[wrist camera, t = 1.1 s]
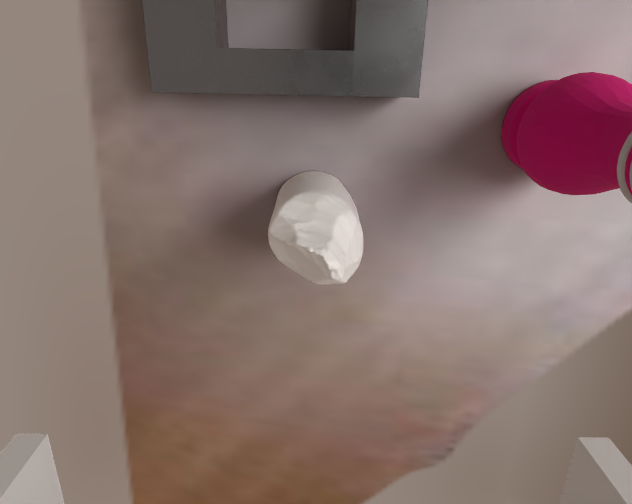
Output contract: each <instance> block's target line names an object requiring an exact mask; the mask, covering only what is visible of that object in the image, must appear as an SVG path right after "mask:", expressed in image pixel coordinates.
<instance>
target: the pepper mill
mask: <svg viewBox="0 0 632 504" xmlns="http://www.w3.org/2000/svg"><path fill="white" fill-rule="evenodd" d="M502 142H503V147H504V150H505V152H506V154H507V155H508V157H509V158H510V160H511V161H512V162H513V163H514V164H516V165H517V166H519V167H520V168H522V169H524V171H525V172H526V174H527V175H528V176H529V177H530V178H531V179H532V180H533V181H534V182H536V183H537V184H539V185H540V186H542V187H544V188H546V189H548V190H552V191H555V192H559V193H562V194H568V195H588V194H597V193H602V192H605V191H609V190H613V189H618V188H620V189H621V191H622V193H623V195H624V196H625V197H626V198H627V200H628V201H630V202H631V203H632V84H630V83H628V82H627V81H625V80H624V79H621V78H618V77H616V76H613V75H607V74H601V73H595V72H588V73H578V74H574V75H570V76H567V77H564V78H562V79H560V80H549V81H544V82H541V83H538V84H535V85H533V86H531V87H530V88H528V89H527V90H525V91H524V92H523V93H521V94H520V95H519V96H518V97H517V98H516V99H515V101H514V102H513V103H512V105H511V106H510V108H509V109H508V111H507V113H506V116H505V118H504V121H503V126H502Z"/></svg>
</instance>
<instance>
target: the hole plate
mask: <svg viewBox="0 0 632 504" xmlns="http://www.w3.org/2000/svg"><path fill="white" fill-rule="evenodd" d="M142 5H143V14H144V24H145V33H146V42H147V52H148V61H149V71H150V80H151V89H152V92H165V93H215V94H265V95H315V96H365V97H414V98H419V88H420V78H421V67H422V57H423V47H424V36H425V26H426V16H427V5H428V0H352V1H351V25H350V49H349V51H337V50H290V49H243V48H228V35H227V13H226V0H142Z"/></svg>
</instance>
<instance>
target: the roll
mask: <svg viewBox="0 0 632 504" xmlns="http://www.w3.org/2000/svg"><path fill="white" fill-rule="evenodd" d="M268 238H269V245H270V247H271V250H272V251H273V253H274V254H275V256H276V257H277V259H278V260H279V261H280V262H282V263H283V264H284V265H286V266H287V267H289V268H290V269H292V270H293V271H294V272H296V273H298V274H299V275H301V276H302V277H304V278H306V279H308V280H310V281H311V282H313V283H314V284H318V285H321V284H325V285H328V284H343V283H346V282H347V281H348V279H349V278H350V277H351V276H352V275H353V274H354V273H355V271H356V270H357V268H358V267H359V264H360V261H361V259H362V254H363V233H362V228H361V224H360V221H359V217H358V212H357V208H356V206H355V204H354V202H353V199H352V197H351V196H350V194H349V193H348V192H347V190H346V189H345V187H344V186H343V184H342V183H341V182H340V181H339V180H338V179H337V178H336V177H334V176H332V175H330V174H327V173H323V172H318V171H308V172H303V173H300V174H297V175H295V176H293V177H292V178H290V179H289V180H287V181H286V182H285V183H284V184H283V185H282V187H281V188H280V191H279V193H278V195H277V200H276V205H275V208H274V211H273V214H272V217H271V220H270V223H269V228H268Z"/></svg>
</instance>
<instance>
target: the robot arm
mask: <svg viewBox="0 0 632 504" xmlns="http://www.w3.org/2000/svg"><path fill="white" fill-rule="evenodd" d="M0 504H64V500H63V496H62V491H61V487H60V484H59V479H58V475H57V471H56V467H55V463H54V459H53V455H52V450H51V446H50V442H49V438H48V434H15V435H14V437H13V438H12V439H11V440H10V442H9V443H8V444H7V445H6V446H5V448H4V449H3V450H2V451H1V452H0ZM559 504H632V466H631V465H630V463H629V462H628V461H627V460H626V458H625V457H624V456H623V455H622V454H621V452H620V451H619V450H618V449H617V447H616V446H615V445H614V444H613V443H612V441H611V440H610V439H609V438H578V440H577V443H576V447H575V450H574V454H573V457H572V461H571V464H570V468H569V471H568V475H567V478H566V482H565V485H564V489H563V492H562V496H561V499H560V502H559Z"/></svg>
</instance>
